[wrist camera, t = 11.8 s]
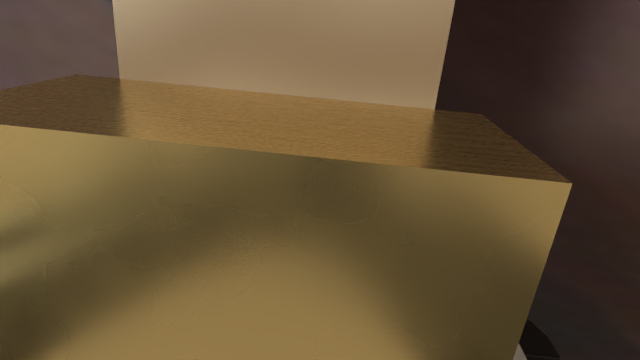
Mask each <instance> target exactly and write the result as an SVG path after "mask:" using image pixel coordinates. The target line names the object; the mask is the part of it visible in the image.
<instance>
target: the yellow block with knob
mask: <svg viewBox="0 0 640 360" xmlns="http://www.w3.org/2000/svg"><path fill="white" fill-rule="evenodd" d="M571 187H572V183H571V182H570V181H569V180H567V179H566V178H565V177H563V176H562V175H561V174H559V173H558V172H557V171H555V170H554V169H553V168H551V167H550V166H549V165H548V164H546V163H545V162H544V161H542V160H541V159H540V158H538V157H537V156H536V155H534V154H533V153H532V152H530V151H529V150H528V149H527V148H525V147H524V146H523V145H521V144H520V143H519V142H517V141H516V140H515V139H513V138H512V137H511V136H509V135H508V134H507V133H506V132H504V131H503V130H502V129H500V128H499V127H498V126H496V125H495V124H494V123H492V122H491V121H490V120H488V119H487V118H486V117H485V116H483V115H482V114H478V113H467V112H457V111H447V110H436V109H426V108H416V107H406V106H395V105H385V104H375V103H365V102H354V101H344V100H334V99H323V98H313V97H303V96H293V95H282V94H272V93H262V92H252V91H241V90H231V89H221V88H210V87H200V86H190V85H180V84H169V83H159V82H149V81H139V80H128V79H118V78H108V77H97V76H87V75H77V74H76V75H71V76H66V77H61V78H57V79H52V80H47V81H42V82H37V83H33V84H28V85H23V86H18V87H13V88H9V89H4V90H0V360H513V358H514V355H515V352H516V349H517V346H518V343H519V340H520V337H521V334H522V331H523V328H524V326H525V323H526V320H527V317H528V314H529V311H530V308H531V305H532V302H533V299H534V296H535V293H536V290H537V287H538V284H539V281H540V278H541V275H542V272H543V269H544V266H545V263H546V261H547V258H548V255H549V252H550V249H551V246H552V243H553V240H554V237H555V234H556V231H557V228H558V225H559V222H560V219H561V216H562V213H563V210H564V207H565V204H566V201H567V199H568V196H569V193H570V190H571Z"/></svg>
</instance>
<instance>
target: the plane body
mask: <svg viewBox="0 0 640 360" xmlns="http://www.w3.org/2000/svg"><path fill="white" fill-rule="evenodd" d="M112 2H113V12H114V22H115V33H116V43H117V53H118V63H119V74H120V79H128V80H139V81H149V82H159V83H169V84H180V85H190V86H200V87H210V88H221V89H231V90H241V91H252V92H262V93H272V94H282V95H293V96H303V97H313V98H323V99H334V100H344V101H354V102H365V103H375V104H385V105H395V106H406V107H416V108H426V109H435V105H436V100H437V94H438V89H439V84H440V79H441V73H442V68H443V63H444V57H445V52H446V47H447V41H448V36H449V31H450V26H451V20H452V15H453V10H454V4H455V0H112Z"/></svg>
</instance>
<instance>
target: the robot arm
mask: <svg viewBox="0 0 640 360" xmlns="http://www.w3.org/2000/svg"><path fill="white" fill-rule="evenodd" d="M513 360H560V356H559V355H558V353H557V351H556V350H555V348H554V346H553V345H552V343H551V342H550V340H549V338H548V337H547V336H546V335H545V334H543V333H542V332H541V331H540V330H539V329H538V328H537V327H536V326H535V325H534V324H533V323H531V322H530V321H527V320H526V323H525V326H524V328H523V331H522V334H521V337H520V340H519V343H518V346H517V349H516V352H515V355H514V358H513Z"/></svg>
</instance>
